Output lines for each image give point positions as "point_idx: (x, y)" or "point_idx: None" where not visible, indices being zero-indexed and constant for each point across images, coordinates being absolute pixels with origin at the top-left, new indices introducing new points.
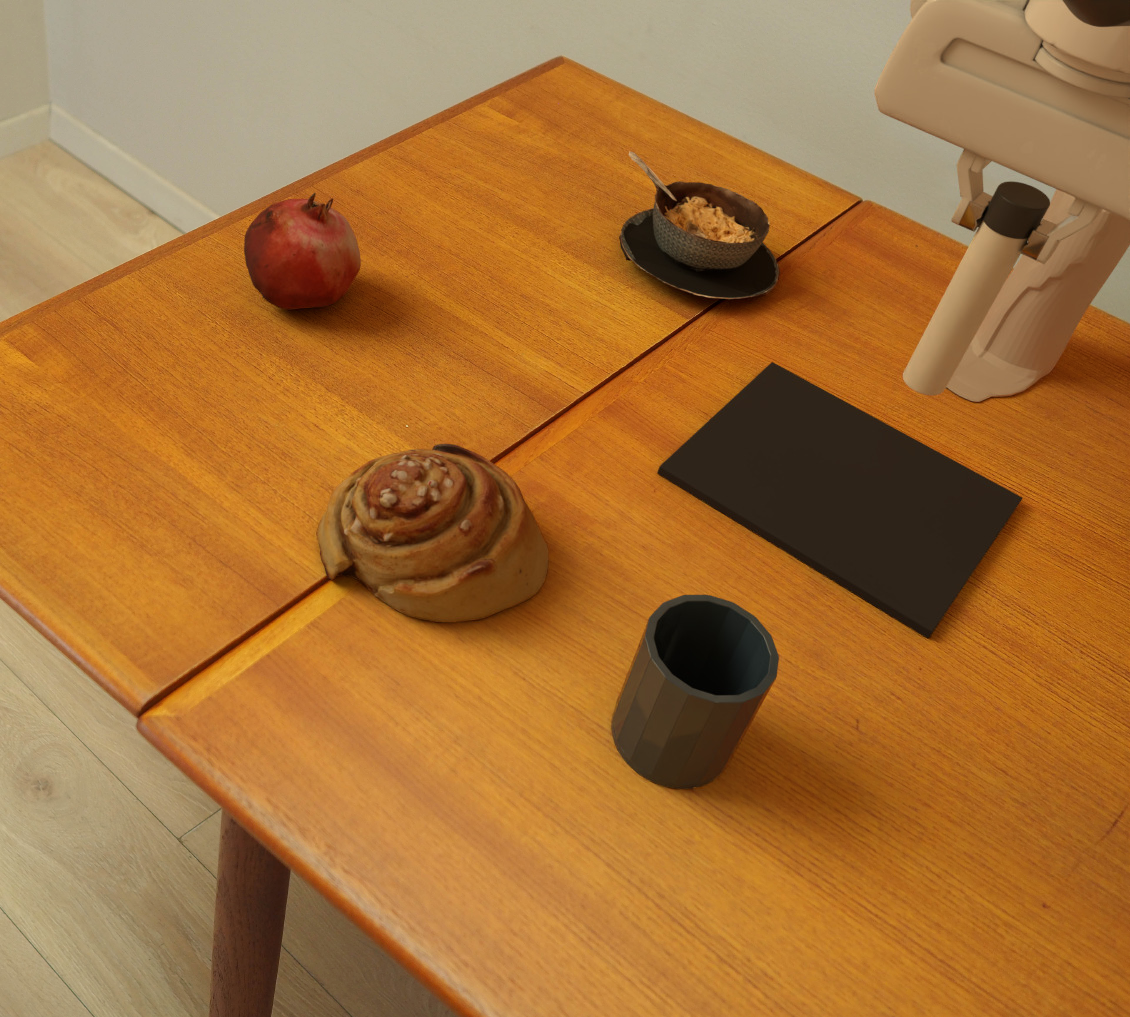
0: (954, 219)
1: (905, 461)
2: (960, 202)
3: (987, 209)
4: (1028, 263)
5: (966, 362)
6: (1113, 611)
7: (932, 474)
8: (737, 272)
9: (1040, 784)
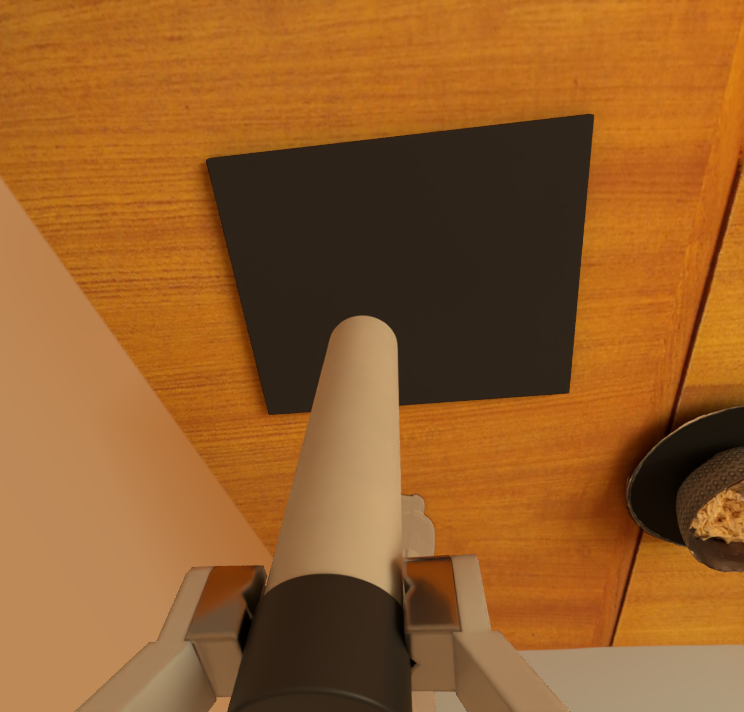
0: (469, 560)
1: None
2: (485, 612)
3: (398, 634)
4: None
5: (412, 535)
6: (132, 354)
7: None
8: (672, 485)
9: (11, 67)
